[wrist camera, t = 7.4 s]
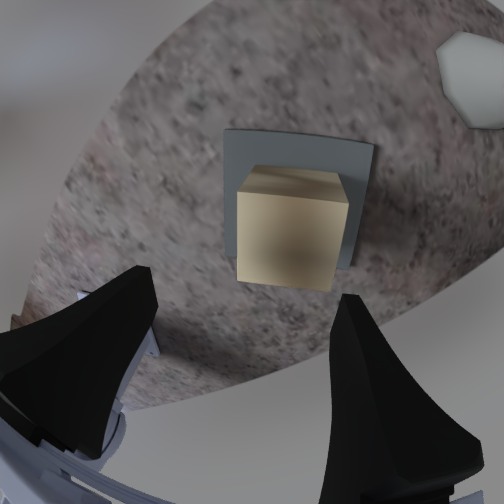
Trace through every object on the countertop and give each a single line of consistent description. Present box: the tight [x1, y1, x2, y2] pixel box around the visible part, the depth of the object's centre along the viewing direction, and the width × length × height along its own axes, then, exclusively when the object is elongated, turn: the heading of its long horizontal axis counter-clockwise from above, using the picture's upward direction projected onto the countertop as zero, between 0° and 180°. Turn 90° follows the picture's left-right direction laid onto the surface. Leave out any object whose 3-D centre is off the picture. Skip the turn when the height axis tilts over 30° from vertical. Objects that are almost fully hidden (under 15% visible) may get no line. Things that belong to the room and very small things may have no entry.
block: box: [237, 165, 349, 292], centre depth 16 cm, size 5×5×5 cm
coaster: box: [224, 129, 374, 270], centre depth 18 cm, size 9×9×1 cm
